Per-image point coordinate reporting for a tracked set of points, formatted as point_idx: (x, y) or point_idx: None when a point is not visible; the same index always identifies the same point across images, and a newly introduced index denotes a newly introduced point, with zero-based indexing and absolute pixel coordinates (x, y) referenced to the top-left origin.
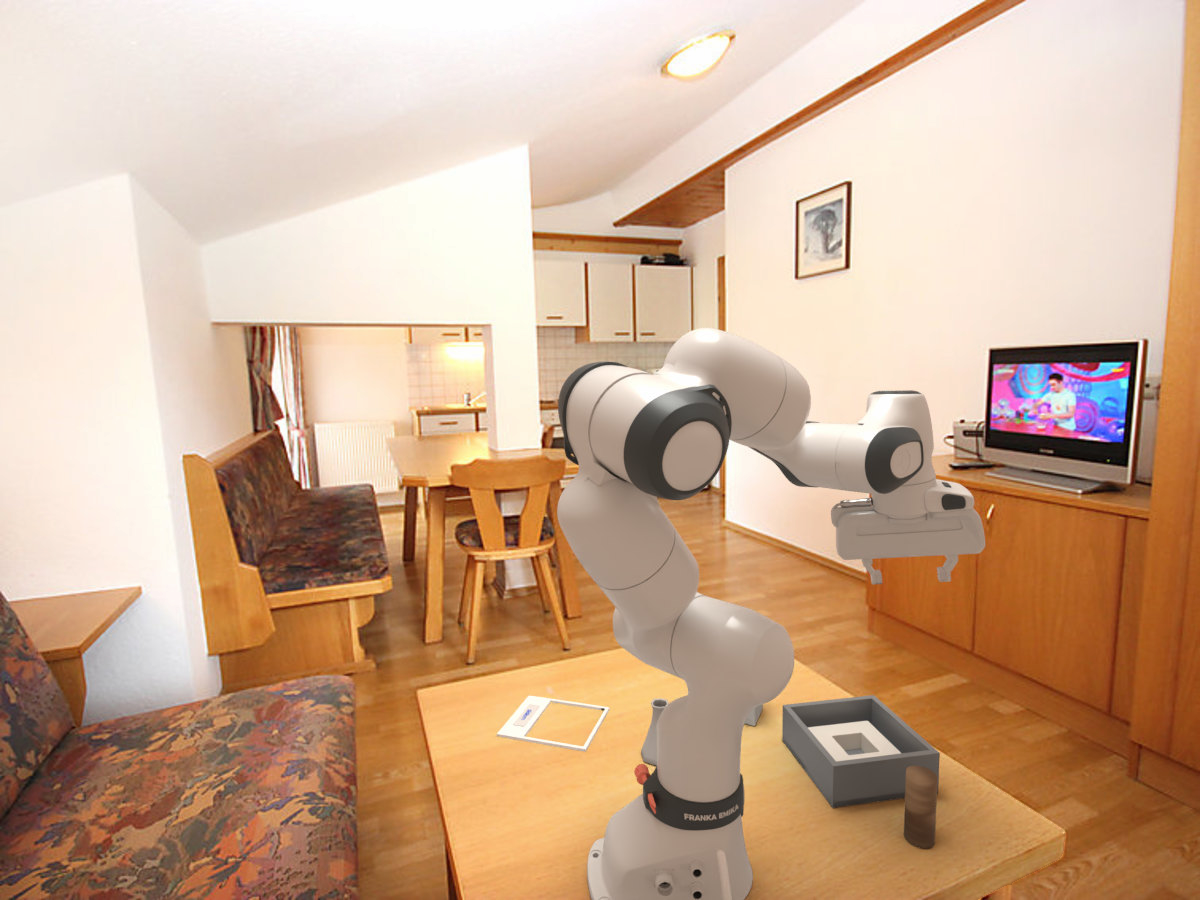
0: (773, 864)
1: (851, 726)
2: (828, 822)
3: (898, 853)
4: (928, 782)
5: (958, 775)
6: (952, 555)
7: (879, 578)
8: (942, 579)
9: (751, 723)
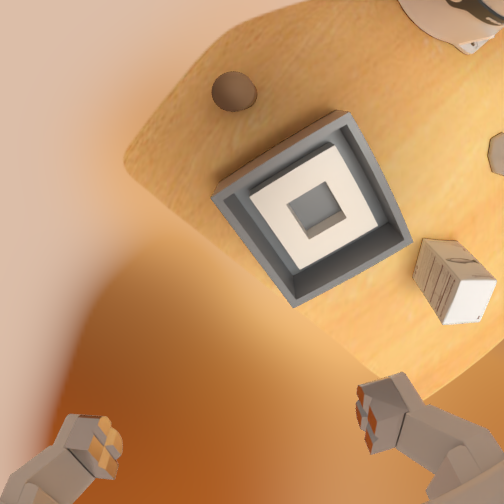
0: (381, 12)
1: (320, 249)
2: (338, 84)
3: (262, 62)
4: (224, 77)
5: (197, 226)
6: (15, 502)
7: (382, 400)
8: (91, 421)
9: (427, 239)
